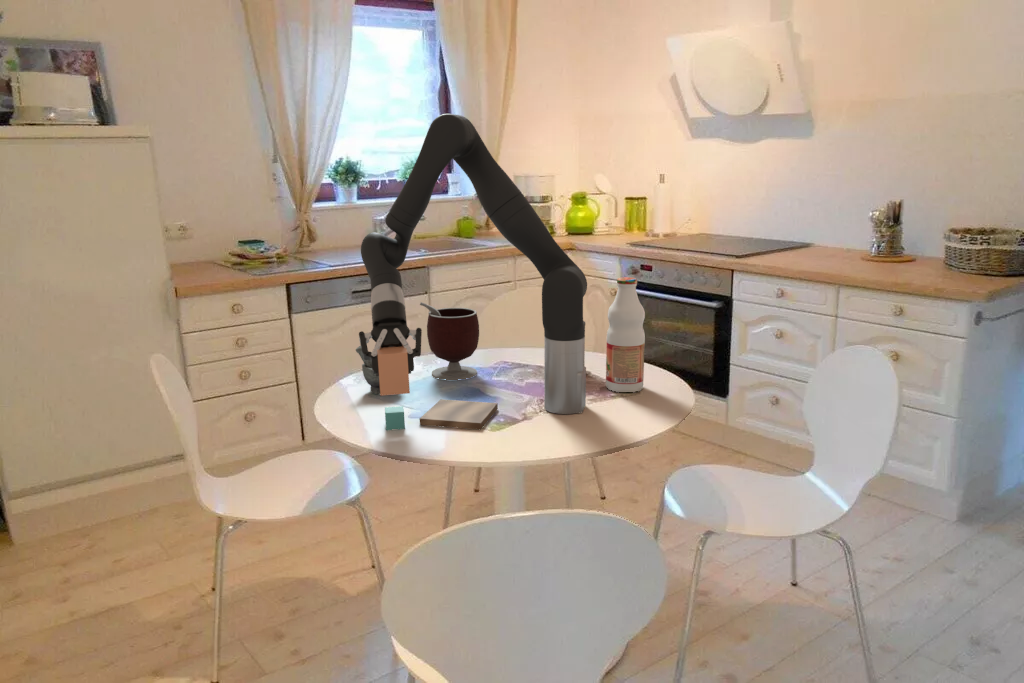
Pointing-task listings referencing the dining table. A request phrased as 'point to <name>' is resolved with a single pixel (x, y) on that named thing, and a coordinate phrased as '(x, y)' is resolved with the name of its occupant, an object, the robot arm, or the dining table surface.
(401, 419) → the teal block
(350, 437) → the dining table surface
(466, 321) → the mate gourd
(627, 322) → the fruit juice
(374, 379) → the mortar and pestle
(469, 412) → the walnut board
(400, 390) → the tall tan upright block
